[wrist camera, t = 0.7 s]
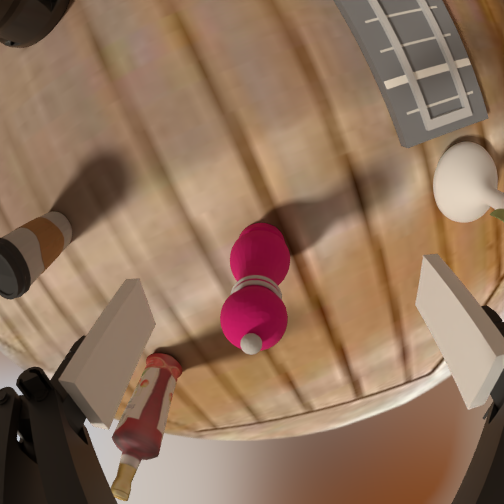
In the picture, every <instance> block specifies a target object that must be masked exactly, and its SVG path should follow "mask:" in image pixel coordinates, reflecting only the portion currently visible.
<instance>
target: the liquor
mask: <svg viewBox="0 0 504 504" xmlns="http://www.w3.org/2000/svg"><path fill="white" fill-rule="evenodd" d="M146 364H147V365H146V368H145V370H144V372H143V374H142V376H141V378H140V380H139V382H138V385H137V387H136V389H135V391H134V393H133V395H132V397H131V399H130V401H129V403H128V405H127V407H126V408H125V410H124V412H123V415H122V417H121V419H120V421H119V423H118V426H117V428H116V430H115V432H114V434H113V436H112V439H113V441H114V443H115V444H116V446H117V447H118V448H119V449H120V450H121V451H122V455H121V460H120V464H119V468H118V473H117V477H116V479H115V480H114V482H113V484H112V486H111V491H112V493H113V495H114V497H115V498H118V499H120V500H123V501H128V498H129V494H130V491H131V482H132V480H133V477H134V475H135V473H136V471H137V468H138V466H139V464H140V462H141V460H142V459H143V460H148V459H152V458H155V457H157V456H158V455H159V451H160V447H161V442H162V438H163V434H164V430H165V426H166V422H167V417H168V412H169V408H170V404H171V400H172V396H173V393H174V389H175V385H176V382H177V378H178V377H179V376H181V374H182V367H181V365H180V364H179V363H178V361H176V360H175V359H174V358H173V357H172V356H170V355H168V354H164V353H154V354H151V355H149V356H148V357H147V359H146Z"/></svg>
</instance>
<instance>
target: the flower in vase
mask: <svg viewBox="0 0 504 504" xmlns="http://www.w3.org/2000/svg"><path fill="white" fill-rule="evenodd" d="M497 185H498V176H497V170H496V166H495V163H494V161H493V159H492V158H491V156H490V155H489V153H488V152H487V151H486V150H485V149H484V148H483V147H482V146H480V145H479V144H476V143H474V142H468V141H465V142H460V143H457V144H455V145H453V146H452V147H450V148H449V149H448V150H447V151H446V152H445V153H444V154H443V156H442V157H441V159H440V160H439V162H438V164H437V167H436V170H435V174H434V180H433V191H434V197H435V200H436V203H437V205H438V207H439V209H440V211H441V212H442V213H443V214H444V215H445V216H446V217H447V218H449V219H450V220H453V221H456V222H471V221H474V220H476V219H478V218H480V217H481V216H482V215H483V214H485V213H486V211H487V210H488V209H489V208H490V206H491V207H493V208H494V209H495V211H493V212H492V213H491V214H490V215H491V216H494V217H496V218H498V219H500V220H501V221H503V222H504V193H503V192H501V191H499V190H497Z"/></svg>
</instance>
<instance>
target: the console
mask: <svg viewBox="0 0 504 504" xmlns="http://www.w3.org/2000/svg"><path fill="white" fill-rule="evenodd" d="M334 2H335V3H336V5H337V7H338V8H339V10H340V12H341V14H342V15H343V17H344V19H345V21H346V22H347V24H348V26H349V28H350V30H351V31H352V33H353V35H354V37H355V39H356V41H357V43H358V45H359V47H360V49H361V51H362V53H363V55H364V57H365V59H366V61H367V63H368V65H369V67H370V69H371V71H372V73H373V76H374V78H375V80H376V82H377V84H378V87H379V89H380V91H381V94H382V96H383V98H384V101H385V103H386V106H387V108H388V111H389V113H390V116H391V118H392V121H393V124H394V126H395V129H396V132H397V134H398V137H399V140H400V143H401V146H403V147H405V148H410V147H412V146H415V145H417V144H420V143H423V142H425V141H428V140H431V139H433V138H436V137H438V136H441V135H444V134H446V133H449V132H452V131H455V130H457V129H460V128H463V127H466V126H468V125H471V124H474V123H477V122H479V121H482V120H485V119H488V114H487V111H486V107H485V104H484V100H483V97H482V94H481V91H480V88H479V85H478V82H477V79H476V76H475V73H474V70H473V68H472V65H471V62H470V60H469V57H468V55H467V52H466V50H465V47H464V45H463V43H462V40H461V38H460V36H459V34H458V31H457V29H456V27H455V25H454V23H453V21H452V19H451V17H450V15H449V13H448V11H447V9H446V7H445V5H444V3H443V1H442V0H334Z"/></svg>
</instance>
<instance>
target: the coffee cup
mask: <svg viewBox="0 0 504 504" xmlns="http://www.w3.org/2000/svg"><path fill="white" fill-rule="evenodd" d="M71 238H72V228H71V225H70V223H69V221H68V219H67V218H66V217H65V216H64V215H63V214H61V213H59V212H54V211H53V212H49V213H47V214H45V215H43V216H41V217H38V218H36V219H34V220H32V221H30V222H28V223H26V224H24V225H22V226H21V227H19V228H17V229H15V230H14V231H13V232H11V233H9V234H7V235H5V236H4V237H2V238H0V295H1V296H2V297H4V298H6V299H14V298H17V297H21V296H22V295H23V294H24V293H26V292H27V291H28V290H29V288H30V286H31V284H32V283H33V282H34V281H35V280H36V279H37V278H38V277H39V276H40V274H42V273H43V272H44V271H45V270H46V269H47V268H48V267H49V266H50V265H51V264H52V262H53V261H54V260H55V259H56V258H57V257H58V256H59V255H60V254H61V252H62V251H63V250H64V249H65V248H66V247H67V246H68V245H69V244H70V242H71Z"/></svg>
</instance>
